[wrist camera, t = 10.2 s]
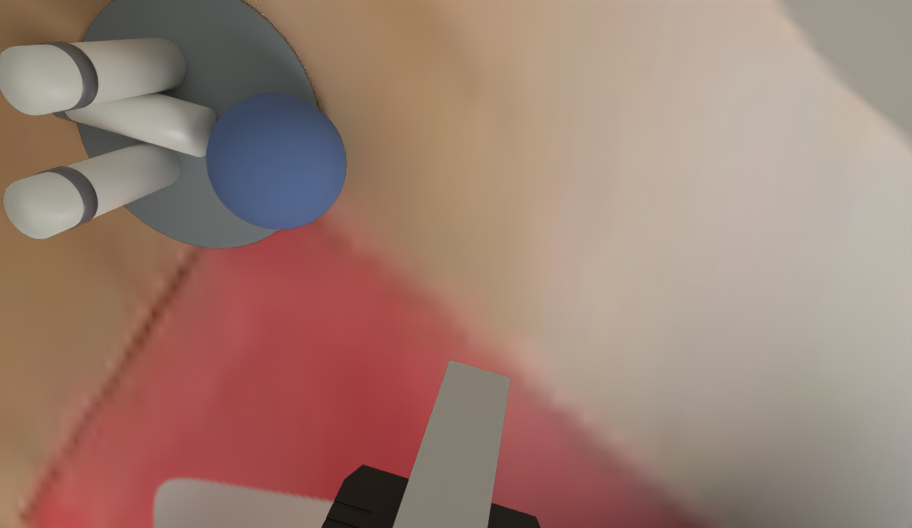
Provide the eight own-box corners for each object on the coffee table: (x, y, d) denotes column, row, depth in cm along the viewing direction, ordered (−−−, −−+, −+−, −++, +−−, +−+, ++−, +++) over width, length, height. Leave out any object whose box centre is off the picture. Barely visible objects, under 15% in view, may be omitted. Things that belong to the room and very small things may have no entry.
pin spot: (341, 21, 28) (339, 21, 28) (302, 275, 33) (301, 277, 33) (74, -50, 29) (71, -51, 29) (77, 209, 34) (74, 210, 34)
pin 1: (191, 43, 30) (57, 54, 22) (187, 96, 31) (58, 124, 23) (142, 30, 30) (-9, 36, 22) (140, 82, 31) (-4, 106, 23)
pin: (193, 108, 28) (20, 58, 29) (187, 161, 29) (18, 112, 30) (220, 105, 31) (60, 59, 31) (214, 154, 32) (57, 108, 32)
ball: (217, 71, 29) (350, 90, 30) (215, 194, 31) (337, 206, 33) (195, 101, 23) (356, 122, 25) (194, 246, 26) (341, 258, 27)
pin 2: (184, 145, 32) (60, 188, 24) (182, 191, 33) (61, 247, 25) (138, 132, 32) (0, 170, 24) (137, 179, 33) (4, 230, 25)
